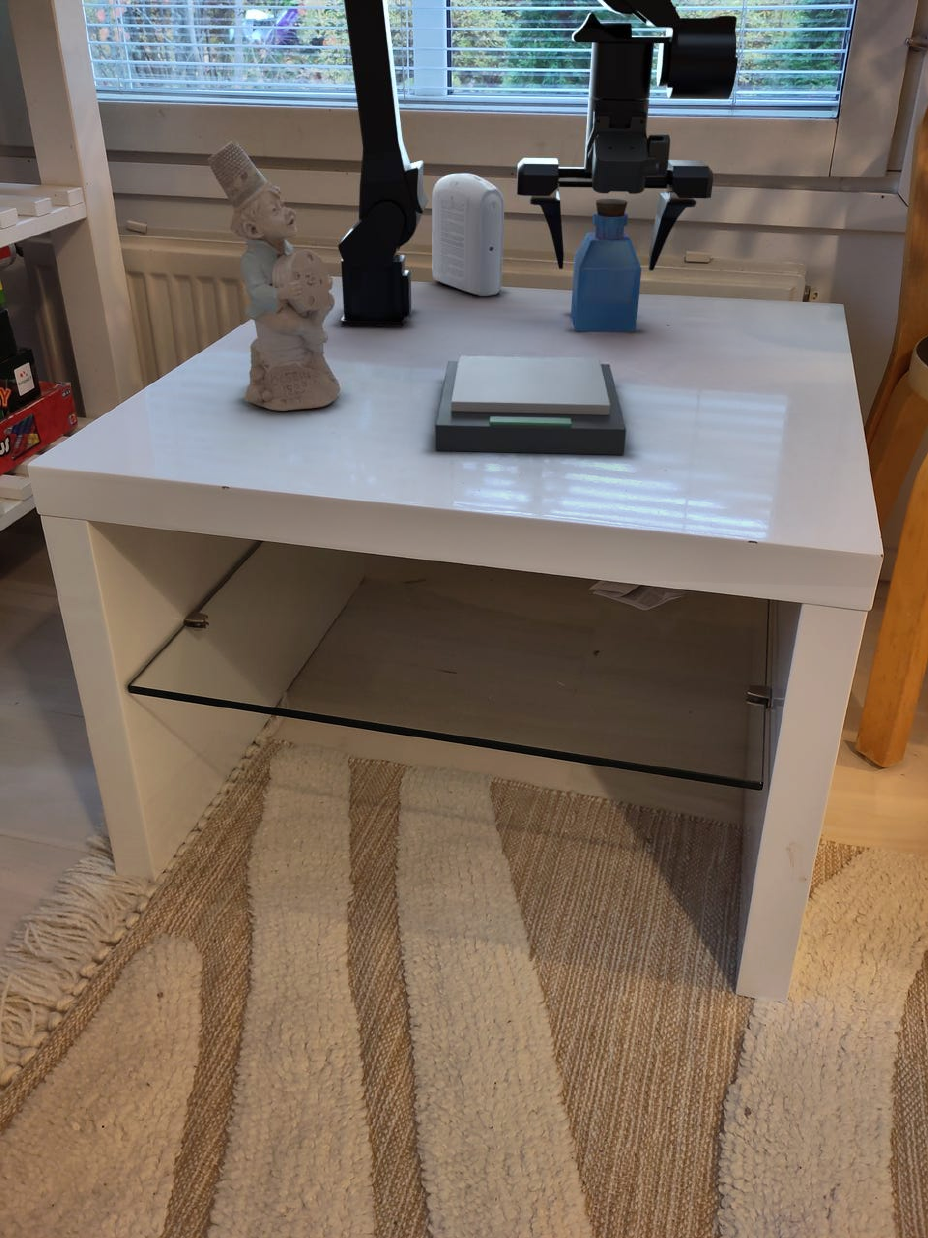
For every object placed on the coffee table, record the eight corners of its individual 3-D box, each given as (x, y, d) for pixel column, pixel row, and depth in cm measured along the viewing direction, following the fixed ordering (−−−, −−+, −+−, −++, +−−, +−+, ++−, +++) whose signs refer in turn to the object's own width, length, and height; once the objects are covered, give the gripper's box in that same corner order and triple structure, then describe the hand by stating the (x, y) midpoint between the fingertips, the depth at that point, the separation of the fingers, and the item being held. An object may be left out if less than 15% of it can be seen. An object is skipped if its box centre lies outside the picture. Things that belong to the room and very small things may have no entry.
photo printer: (507, 293, 118) (510, 178, 111) (477, 298, 115) (479, 181, 109) (456, 276, 125) (456, 167, 118) (427, 281, 123) (426, 170, 116)
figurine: (217, 406, 84) (184, 139, 73) (274, 377, 90) (251, 129, 80) (309, 422, 81) (288, 146, 70) (361, 391, 87) (349, 134, 77)
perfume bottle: (635, 331, 104) (647, 206, 98) (575, 330, 104) (582, 206, 98) (628, 315, 109) (639, 196, 103) (570, 315, 109) (578, 195, 103)
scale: (435, 450, 76) (435, 414, 74) (448, 383, 89) (448, 351, 88) (623, 455, 75) (627, 418, 74) (607, 386, 89) (610, 354, 87)
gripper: (520, 103, 89) (514, 285, 97) (733, 106, 89) (710, 289, 97) (520, 94, 99) (514, 260, 107) (712, 96, 98) (692, 264, 106)
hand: (605, 268), depth 104 cm, fingers open, 9 cm apart
